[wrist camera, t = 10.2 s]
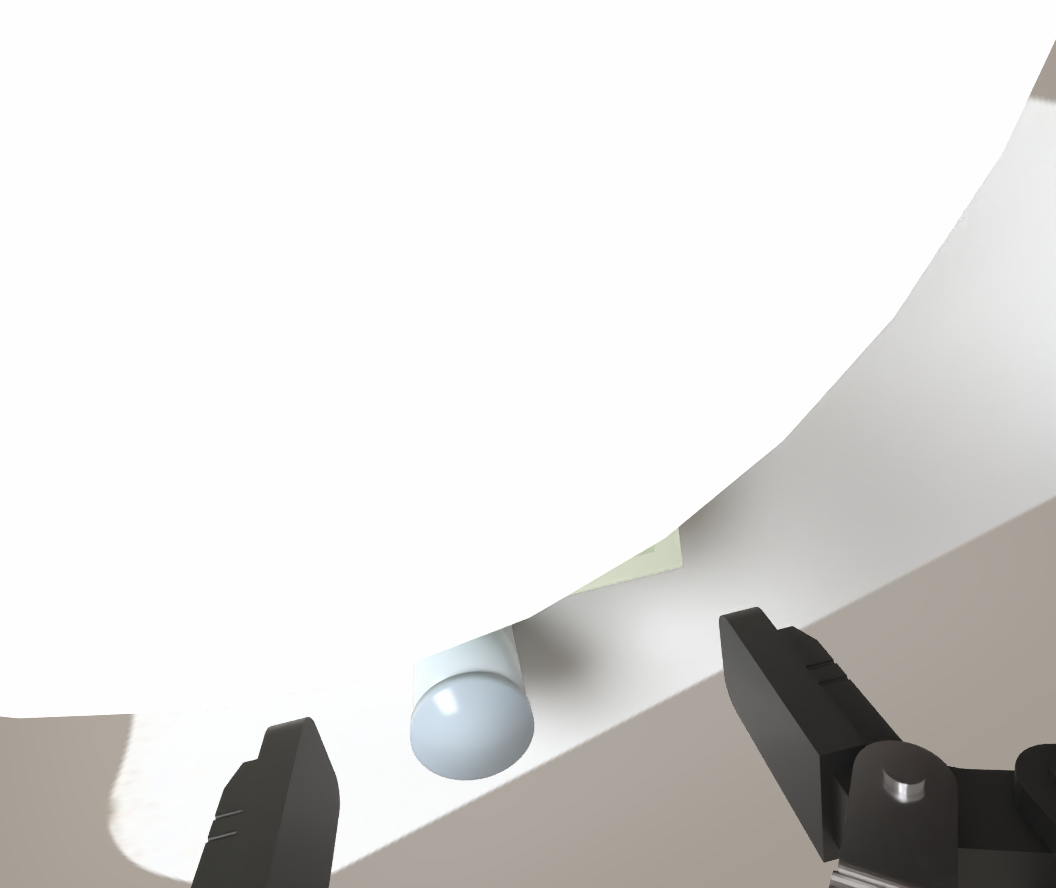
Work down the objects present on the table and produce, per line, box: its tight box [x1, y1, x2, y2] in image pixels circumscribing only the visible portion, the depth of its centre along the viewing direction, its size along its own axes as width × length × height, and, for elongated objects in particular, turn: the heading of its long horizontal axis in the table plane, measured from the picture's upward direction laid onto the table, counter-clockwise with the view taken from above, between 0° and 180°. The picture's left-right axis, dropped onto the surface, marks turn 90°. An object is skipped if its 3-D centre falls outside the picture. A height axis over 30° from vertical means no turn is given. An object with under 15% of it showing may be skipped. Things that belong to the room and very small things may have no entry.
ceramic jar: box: [410, 625, 534, 780], centre depth 30 cm, size 5×5×7 cm
